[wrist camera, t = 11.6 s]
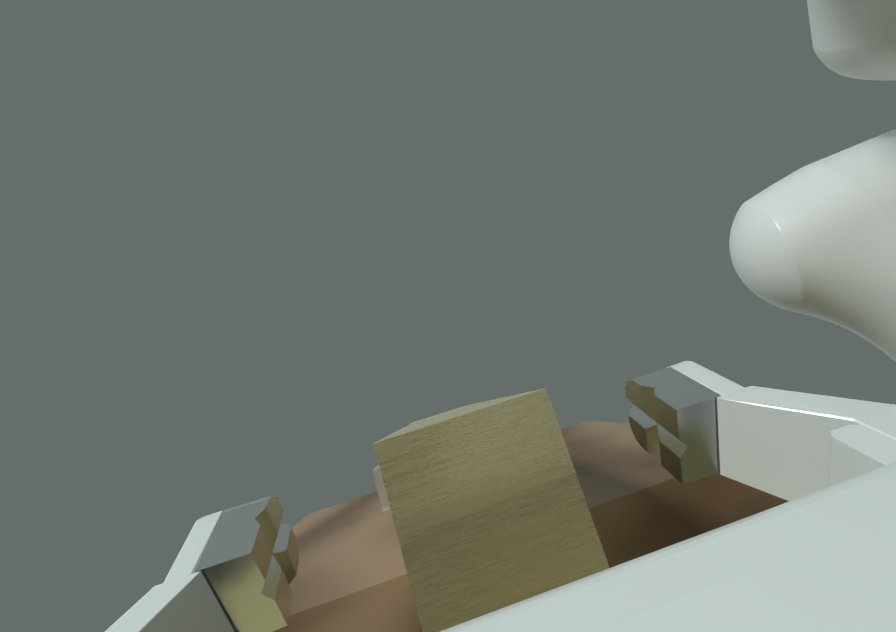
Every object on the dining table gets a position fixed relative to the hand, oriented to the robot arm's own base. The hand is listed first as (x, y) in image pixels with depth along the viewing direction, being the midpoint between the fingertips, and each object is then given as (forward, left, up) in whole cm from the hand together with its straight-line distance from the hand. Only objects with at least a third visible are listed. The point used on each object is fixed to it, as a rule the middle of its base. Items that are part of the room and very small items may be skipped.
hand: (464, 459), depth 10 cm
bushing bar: (0, -10, -3) cm, 10 cm away
